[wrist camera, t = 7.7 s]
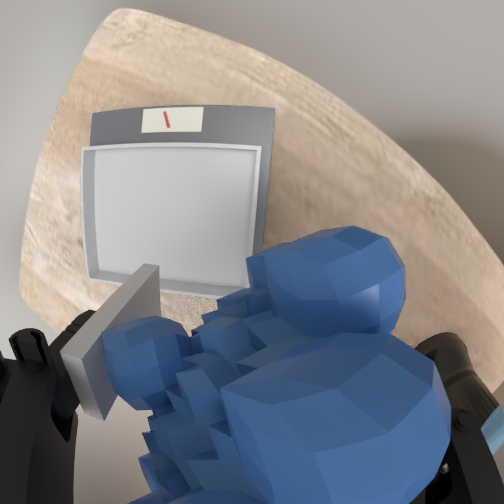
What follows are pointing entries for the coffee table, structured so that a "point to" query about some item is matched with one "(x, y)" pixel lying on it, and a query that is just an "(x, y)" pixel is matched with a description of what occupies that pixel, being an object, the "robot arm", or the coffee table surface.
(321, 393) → the grapes
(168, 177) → the scale
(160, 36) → the coffee table surface
